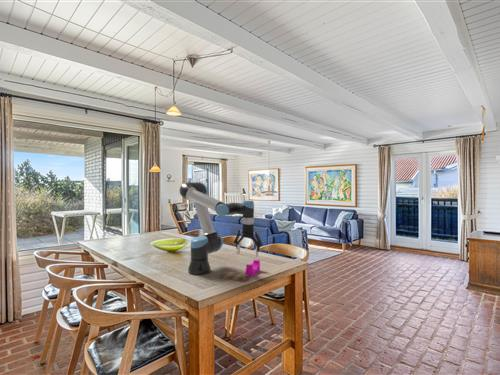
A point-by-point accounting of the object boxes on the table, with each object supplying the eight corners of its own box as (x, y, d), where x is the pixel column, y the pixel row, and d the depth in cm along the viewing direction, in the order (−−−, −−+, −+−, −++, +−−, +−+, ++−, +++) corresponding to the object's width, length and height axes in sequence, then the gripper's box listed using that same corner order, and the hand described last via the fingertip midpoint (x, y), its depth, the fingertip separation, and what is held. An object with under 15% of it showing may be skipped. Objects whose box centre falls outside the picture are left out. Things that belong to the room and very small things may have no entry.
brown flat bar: (220, 277, 176) (220, 274, 176) (225, 274, 183) (225, 270, 183) (244, 281, 169) (244, 277, 169) (248, 278, 176) (248, 274, 176)
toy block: (251, 269, 194) (251, 259, 194) (259, 270, 192) (259, 260, 192) (242, 276, 181) (242, 264, 180) (251, 277, 178) (251, 265, 178)
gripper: (229, 223, 186) (228, 254, 187) (263, 225, 176) (262, 258, 176) (234, 221, 193) (233, 251, 193) (267, 224, 183) (267, 256, 183)
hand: (247, 255), depth 185 cm, fingers open, 13 cm apart
